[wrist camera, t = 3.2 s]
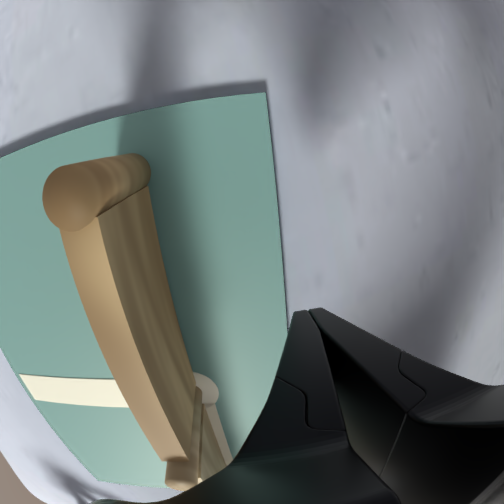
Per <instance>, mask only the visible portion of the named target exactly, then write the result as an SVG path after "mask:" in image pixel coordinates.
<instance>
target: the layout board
mask: <svg viewBox="0 0 504 504" xmlns="http://www.w3.org/2000/svg"><path fill="white" fill-rule="evenodd" d="M129 153H136V154H139V155H141V156H143V157H144V158H145V159H146V160H147V162H148V163H149V165H150V169H151V177H150V181H149V183H148V185H147V186H148V187H149V193H150V198H151V204H152V209H153V215H154V220H155V225H156V230H157V235H158V240H159V244H160V249H161V254H162V258H163V263H164V267H165V271H166V276H167V280H168V284H169V288H170V292H171V296H172V300H173V304H174V308H175V312H176V316H177V319H178V323H179V327H180V330H181V334H182V338H183V341H184V345H185V348H186V351H187V355H188V358H189V362H190V365H191V368H192V371H193V375H194V378H195V381H196V386H197V387H199V388H200V389H201V391H202V404H204V405H205V408H206V411H207V414H208V417H209V419H210V422H211V425H212V428H213V431H214V434H215V436H216V439H217V442H218V444H219V447H220V450H221V452H222V455H223V458H224V460H225V463H226V465H229V464H230V463H231V461H232V460H233V459H234V458H235V456H236V455H237V453H238V452H239V450H240V449H241V447H242V445H243V444H244V442H245V440H246V438H247V437H248V435H249V433H250V431H251V430H252V428H253V426H254V424H255V423H256V421H257V419H258V417H259V415H260V413H261V411H262V409H263V407H264V405H265V403H266V401H267V398H268V396H269V393H270V390H271V388H272V384H273V381H274V379H275V375H276V372H277V369H278V365H279V362H280V359H281V355H282V352H283V348H284V345H285V341H286V338H287V320H286V305H285V291H284V277H283V264H282V252H281V240H280V228H279V217H278V206H277V195H276V184H275V174H274V164H273V155H272V145H271V136H270V127H269V118H268V109H267V101H266V92H265V93H253V94H243V95H233V96H225V97H217V98H210V99H203V100H197V101H190V102H184V103H179V104H173V105H168V106H163V107H158V108H153V109H149V110H144V111H140V112H135V113H131V114H127V115H123V116H119V117H115V118H112V119H108V120H104V121H101V122H97V123H94V124H90V125H87V126H84V127H81V128H78V129H74V130H71V131H68V132H65V133H62V134H59V135H57V136H54V137H51V138H48V139H46V140H43V141H40V142H38V143H35V144H32V145H30V146H27V147H25V148H22V149H20V150H18V151H15V152H13V153H11V154H8V155H6V156H4V157H2V158H0V348H1V350H2V352H3V353H4V355H5V357H6V359H7V361H8V362H9V364H10V366H11V368H12V369H13V371H14V373H15V375H16V376H17V378H18V380H19V381H20V383H21V384H22V386H23V388H24V389H25V391H26V392H27V394H28V395H29V397H30V398H31V400H32V401H33V403H34V404H35V406H36V407H37V409H38V410H39V411H40V413H41V414H42V416H43V417H44V418H45V420H46V421H47V422H48V424H49V425H50V426H51V428H52V429H53V430H54V431H55V433H56V434H57V435H58V437H59V438H60V439H61V440H62V441H63V443H64V444H65V445H66V446H67V447H68V449H69V450H70V451H71V452H72V453H73V454H74V456H75V457H76V458H77V459H78V460H79V461H80V462H81V463H82V465H83V466H84V467H85V468H86V469H87V470H88V471H89V472H90V473H91V474H92V475H93V476H94V477H95V478H96V479H97V480H98V481H103V482H109V483H116V484H124V485H133V486H144V487H158V488H170V487H168V486H167V485H166V484H165V474H166V466H167V462H165V461H161V460H160V458H159V456H158V455H157V453H156V452H155V450H154V449H153V447H152V446H151V444H150V442H149V441H148V439H147V438H146V436H145V434H144V433H143V431H142V429H141V428H140V426H139V424H138V422H137V421H136V419H135V417H134V415H133V414H132V412H131V410H130V408H129V406H128V404H127V403H126V401H125V399H124V397H123V395H122V393H121V391H120V389H119V387H118V385H117V383H116V381H115V379H114V377H113V375H112V373H111V371H110V369H109V367H108V365H107V362H106V360H105V358H104V356H103V354H102V351H101V349H100V347H99V345H98V342H97V340H96V338H95V335H94V333H93V330H92V328H91V325H90V323H89V320H88V318H87V315H86V312H85V310H84V307H83V304H82V302H81V299H80V296H79V293H78V290H77V287H76V284H75V281H74V278H73V275H72V272H71V269H70V266H69V262H68V259H67V256H66V252H65V249H64V245H63V241H62V238H61V234H60V230H59V228H58V227H56V226H55V225H54V224H53V223H52V222H51V221H50V220H49V218H48V217H47V215H46V213H45V210H44V207H43V201H42V192H43V187H44V184H45V181H46V179H47V178H48V176H49V175H50V174H51V173H52V171H54V170H55V169H56V168H58V167H60V166H64V165H68V164H73V163H78V162H83V161H88V160H94V159H99V158H105V157H110V156H116V155H123V154H129Z"/></svg>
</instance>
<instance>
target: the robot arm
mask: <svg viewBox="0 0 504 504" xmlns="http://www.w3.org/2000/svg"><path fill="white" fill-rule="evenodd" d="M89 504H504V385H498V386H491V385H484V384H481V383H478V382H475V381H472V380H470V379H467V378H464V377H462V376H459V375H456V374H454V373H451V372H449V371H446V370H444V369H441V368H439V367H436V366H434V365H432V364H429V363H427V362H425V361H423V360H421V359H419V358H417V357H414V356H412V355H411V354H409V353H407V352H405V351H402V352H401V349H399V348H397V347H395V346H393V345H391V344H389V343H387V342H385V341H384V340H382V339H380V338H378V337H376V336H374V335H372V334H370V333H368V332H366V331H365V330H363V329H361V328H359V327H357V326H355V325H353V324H351V323H350V322H348V321H346V320H344V319H342V318H340V317H338V316H336V315H335V314H333V313H331V312H329V311H327V310H325V309H323V308H314V309H309V310H308V311H307V310H302V311H295V312H294V313H293V316H292V320H291V324H290V327H289V331H288V334H287V338H286V341H285V345H284V348H283V352H282V355H281V359H280V362H279V365H278V369H277V372H276V375H275V379H274V381H273V384H272V388H271V390H270V393H269V396H268V398H267V401H266V403H265V405H264V407H263V409H262V411H261V413H260V415H259V417H258V419H257V421H256V423H255V424H254V426H253V428H252V430H251V431H250V433H249V435H248V437H247V438H246V440H245V442H244V444H243V445H242V447H241V449H240V450H239V452H238V453H237V455H236V456H235V458H234V459H233V460H232V461H231V463H230V464H229V465H227V466H226V467H225V468H224V469H222V470H221V471H219V472H217V473H216V474H214V475H212V476H211V477H209V478H207V479H206V480H204V481H202V482H200V483H199V484H197V485H195V486H193V487H192V488H190V489H188V490H186V491H184V492H182V493H181V494H179V495H177V496H174V497H172V498H170V499H167V500H163V501H158V502H150V503H137V502H128V501H121V500H112V499H100V500H96V501H93V502H91V503H89Z"/></svg>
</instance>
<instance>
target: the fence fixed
mask: <svg viewBox="0 0 504 504" xmlns="http://www.w3.org/2000/svg"><path fill="white" fill-rule="evenodd" d="M226 466H227V465H226V463H225V460H224V458H223V455H222V452H221V450H220V447H219V444H218V442H217V439H216V436H215V434H214V431H213V428H212V425H211V422H210V419H209V417H208V414H207V411H206V408H205V405H204V404H202V391H201V389H200V388H199V387H197V386H196V388H195V398H194V409H193V421H192V433H191V447H190V461H189V462H167V466H166V474H165V484H166V485H167V486H168V487H170V488H172V489H175V490H180V491H186V490H188V489H190V488H192V487H193V486H195V485H197V484H199V483H200V482H202V481H204V480H206V479H207V478H209V477H211V476H212V475H214V474H216V473H217V472H219V471H221V470H222V469H224V468H225V467H226Z"/></svg>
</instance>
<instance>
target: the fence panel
mask: <svg viewBox="0 0 504 504" xmlns="http://www.w3.org/2000/svg"><path fill="white" fill-rule="evenodd" d="M150 177H151V169H150V165H149V163H148V162H147V160H146V159H145V158H144V157H143V156H141V155H139V154H136V153H129V154H123V155H116V156H110V157H105V158H99V159H94V160H88V161H83V162H78V163H73V164H68V165H64V166H60V167H58V168H56V169H55V170H54V171H52V173H51V174H50V175H49V176H48V178H47V179H46V181H45V184H44V187H43V192H42V201H43V207H44V210H45V213H46V215H47V217H48V218H49V220H50V221H51V222H52V223H53V224H54V225H55V226H56V227H58V228H59V230H60V234H61V238H62V241H63V245H64V249H65V252H66V256H67V259H68V262H69V266H70V269H71V272H72V275H73V278H74V281H75V284H76V287H77V290H78V293H79V296H80V299H81V302H82V304H83V307H84V310H85V312H86V315H87V318H88V320H89V323H90V325H91V328H92V330H93V333H94V335H95V338H96V340H97V342H98V345H99V347H100V349H101V351H102V354H103V356H104V358H105V360H106V362H107V365H108V367H109V369H110V371H111V373H112V375H113V377H114V379H115V381H116V383H117V385H118V387H119V389H120V391H121V393H122V395H123V397H124V399H125V401H126V403H127V404H128V406H129V408H130V410H131V412H132V414H133V415H134V417H135V419H136V421H137V422H138V424H139V426H140V428H141V429H142V431H143V433H144V434H145V436H146V438H147V439H148V441H149V442H150V444H151V446H152V447H153V449H154V450H155V452H156V453H157V455H158V456H159V458H160V460H161V461H165V462H189V461H190V447H191V433H192V421H193V409H194V398H195V388H196V381H195V378H194V375H193V371H192V368H191V365H190V362H189V358H188V355H187V351H186V348H185V345H184V341H183V338H182V334H181V330H180V327H179V323H178V319H177V316H176V312H175V308H174V304H173V300H172V296H171V292H170V288H169V284H168V280H167V276H166V271H165V267H164V263H163V258H162V254H161V249H160V244H159V240H158V235H157V230H156V225H155V220H154V215H153V209H152V204H151V198H150V193H149V187H148V186H147V185H148V183H149V181H150Z"/></svg>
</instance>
